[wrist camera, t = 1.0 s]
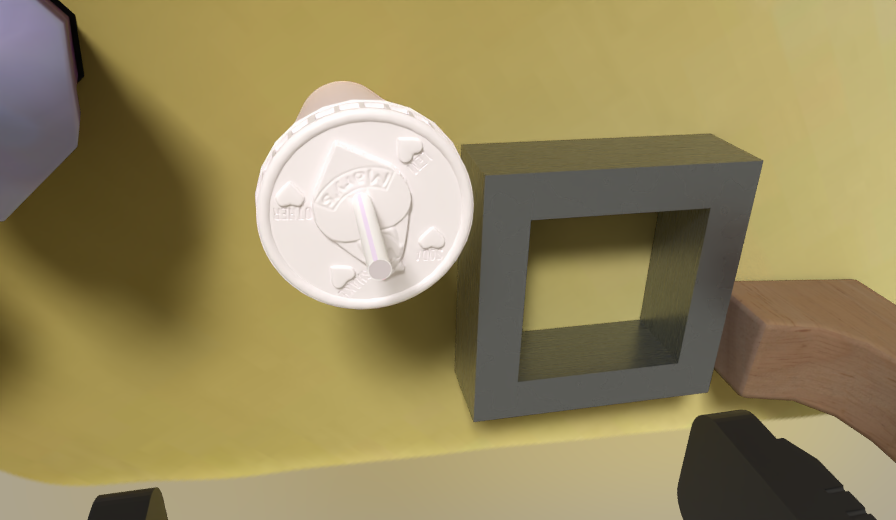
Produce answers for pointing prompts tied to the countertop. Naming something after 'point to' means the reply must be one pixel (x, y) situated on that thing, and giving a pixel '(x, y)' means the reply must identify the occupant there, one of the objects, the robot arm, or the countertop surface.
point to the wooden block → (815, 350)
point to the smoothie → (362, 200)
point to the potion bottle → (36, 95)
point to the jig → (668, 283)
